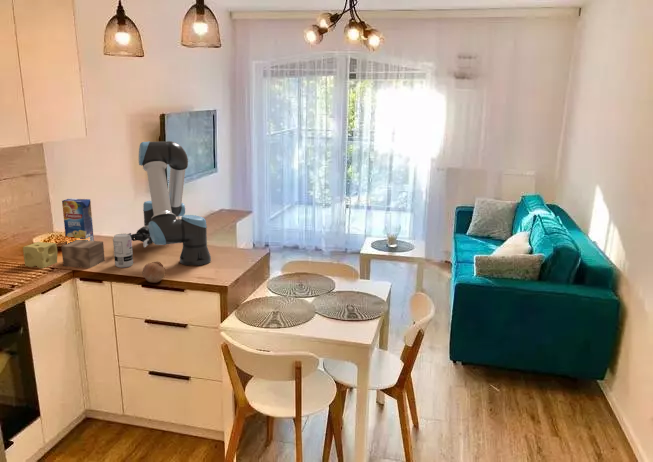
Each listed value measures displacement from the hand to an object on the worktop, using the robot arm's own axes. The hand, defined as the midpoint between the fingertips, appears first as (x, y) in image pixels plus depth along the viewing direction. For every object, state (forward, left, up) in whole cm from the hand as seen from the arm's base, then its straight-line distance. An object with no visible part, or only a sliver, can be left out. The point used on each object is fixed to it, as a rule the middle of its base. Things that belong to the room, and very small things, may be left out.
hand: (130, 244), depth 257 cm
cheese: (+36, +18, -8) cm, 42 cm away
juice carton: (+43, -21, -8) cm, 49 cm away
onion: (-27, +26, -8) cm, 39 cm away
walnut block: (+18, +11, -8) cm, 23 cm away
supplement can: (-2, +9, -8) cm, 13 cm away
